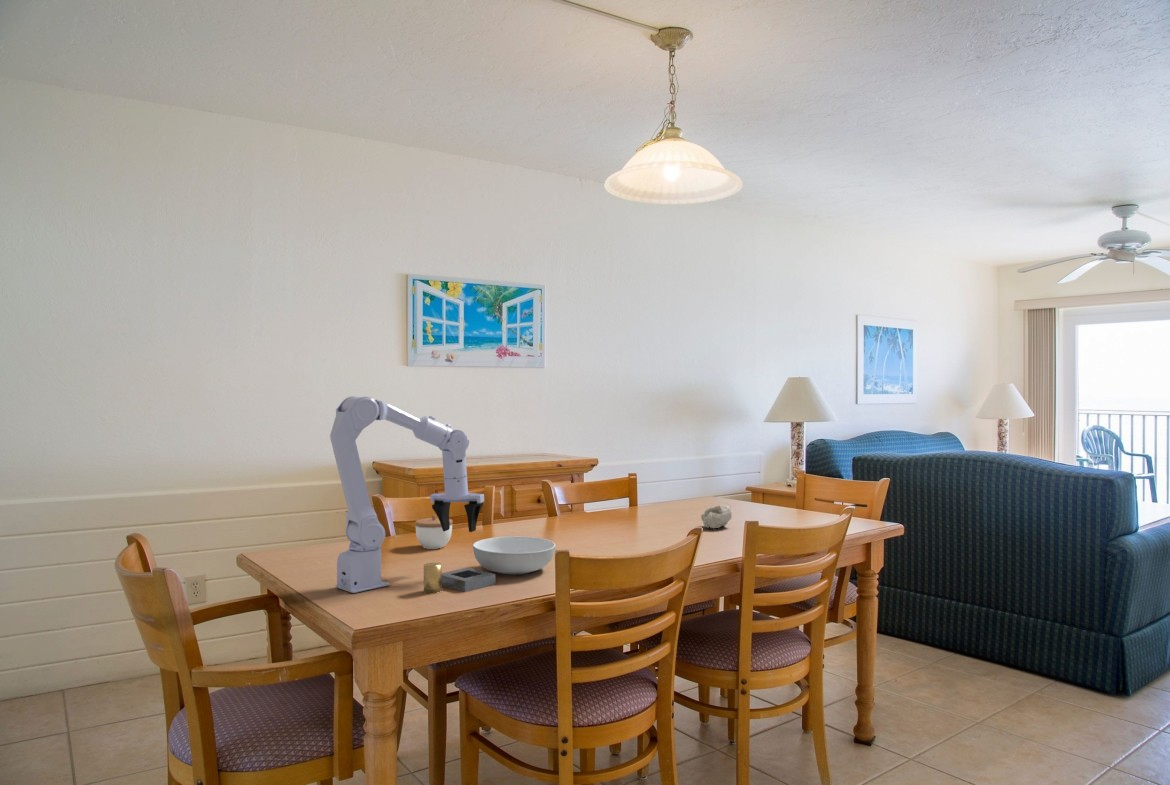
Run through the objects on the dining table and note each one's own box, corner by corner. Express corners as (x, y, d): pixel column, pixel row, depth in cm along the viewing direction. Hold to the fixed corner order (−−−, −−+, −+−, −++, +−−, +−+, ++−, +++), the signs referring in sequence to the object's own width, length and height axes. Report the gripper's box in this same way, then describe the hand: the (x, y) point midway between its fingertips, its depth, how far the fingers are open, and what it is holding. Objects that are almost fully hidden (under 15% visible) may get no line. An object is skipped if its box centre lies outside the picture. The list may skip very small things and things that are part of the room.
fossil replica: (699, 530, 246) (730, 534, 244) (701, 506, 245) (732, 509, 244) (700, 521, 258) (730, 525, 256) (702, 498, 257) (732, 501, 255)
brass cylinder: (430, 594, 167) (430, 567, 167) (420, 591, 169) (420, 564, 169) (445, 591, 170) (445, 564, 170) (434, 587, 172) (434, 561, 172)
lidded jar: (448, 551, 213) (448, 518, 213) (410, 550, 213) (410, 517, 213) (456, 543, 224) (456, 512, 224) (420, 543, 224) (420, 512, 224)
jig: (465, 591, 169) (465, 581, 169) (438, 584, 176) (438, 574, 176) (495, 584, 176) (495, 574, 176) (468, 577, 182) (468, 567, 182)
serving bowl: (496, 585, 175) (496, 555, 175) (459, 568, 192) (459, 541, 192) (571, 573, 186) (571, 546, 187) (530, 558, 204) (530, 533, 204)
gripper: (488, 474, 188) (492, 527, 189) (439, 474, 194) (443, 526, 194) (474, 479, 182) (478, 534, 182) (424, 479, 187) (427, 532, 188)
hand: (459, 530), depth 188 cm, fingers open, 7 cm apart
